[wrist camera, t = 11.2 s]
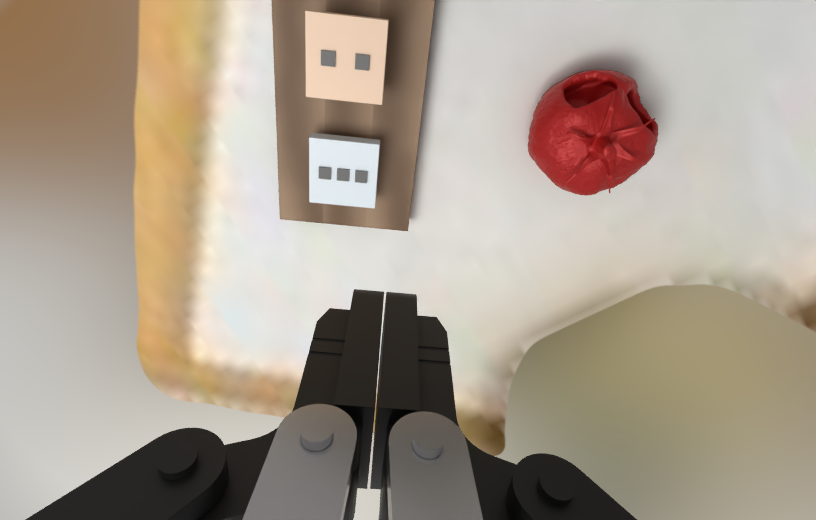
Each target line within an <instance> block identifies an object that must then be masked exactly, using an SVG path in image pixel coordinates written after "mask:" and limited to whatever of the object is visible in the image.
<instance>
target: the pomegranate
mask: <svg viewBox="0 0 816 520" xmlns="http://www.w3.org/2000/svg"><path fill="white" fill-rule="evenodd" d="M654 120H655V118H654V119H652V118H651V117H650V116H649V114H648V112H647V111H646V109H645V108H644V107H643V106H642V104H641V102H640V96H639V94H638V92H637V84H636V81H635V80H634V79H632V78H631V77H629V76H625V75H624V74H622V73H619V72H616V71H611V70H592V71H585V72H580V73H576V74H574V75H572V76H571V77H568V78H567V79H565V80H563V81H561V82H559V83H557V84H556V85H554V86H552V87H551V88H550V89H549V90H548V91H547V92H546V93H545V94H544V95H543V97H542V99H541V100H540V102H539V103H538V105H537V107H536V110H535V111H534V115H533V120H532V123H531V126H530V133H529V142H528V152H529V154H530V156H531V158H532V159H533V160H534V161H535V162H536V164H537V165H538V167H539V168H540V169H541V170H542V171H543V172H544V173H545V174H546V175H547V177H548V178H549V179H550V180H551V181H552V182H553V183H554V184H555V185H557V186H558V187H560V188H562V189H563V190H566V191H569V192H572V193H575V194H579V195H592V194H596V193H598V192H599V191H602V190H606V189H609V193H610V189H611V188H614V187H615V186H617V185H619V184H621V183H623V182H624V181H626V180H627V179H628V178H629V177H630V176H631V175H633V174H635V173H636V172H637V171H638V170H639V169H640V168H641V167H643V166H644V165H646V164H647V162H648V161H649V160H650V159H651V158H652V157H653V155H654V151H655V146H656V142H657V136H658V125H657V123H656V122H655V121H654Z"/></svg>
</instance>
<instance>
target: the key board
mask: <svg viewBox="0 0 816 520" xmlns="http://www.w3.org/2000/svg"><path fill="white" fill-rule="evenodd" d="M434 4H435V0H272V21H273V48H274V74H275V101H276V127H277V153H278V180H279V206H280V219H284V220H294V221H305V222H316V223H326V224H337V225H348V226H358V227H369V228H380V229H390V230H401V231H408V225H409V216H410V208H411V199H412V191H413V182H414V174H415V165H416V157H417V148H418V140H419V131H420V123H421V114H422V106H423V97H424V89H425V80H426V72H427V63H428V55H429V46H430V38H431V29H432V21H433V12H434ZM307 10H314V11H323V12H331V13H340V14H348V15H357V16H365V17H374V18H382V19H389V25H388V38H387V52H386V65H385V78H384V91H383V102H382V105H377V104H368V103H359V102H349V101H340V100H331V99H322V98H312V97H306V44H305V11H307ZM312 133H320V134H330V135H339V136H349V137H359V138H368V139H378V140H380V151H379V164H378V177H377V191H376V203H375V208H364V207H354V206H343V205H333V204H322V203H312V202H309V137H310V135H311V134H312Z"/></svg>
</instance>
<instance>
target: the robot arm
mask: <svg viewBox="0 0 816 520" xmlns="http://www.w3.org/2000/svg"><path fill="white" fill-rule="evenodd" d="M383 298H384V292H379V291H368V290H356V289H354V292H353V298H352V303H351V309H350V310H343V309H331V308H330V309H329V310H328V311H327V312H326V313H325V314H324V315H323V316H322V317H321V318H320V319H319V320H318V321H317V324H316V328H315V331H314V335H313V340H312V342H311V346H310V350H309V354H308V357H307V361H306V365H305V368H304V372H303V376H302V380H301V383H300V387H299V391H298V395H297V398H296V402H295V406H294V408H293V411H292V412H291V413H290V414H289V415H288V416H286V417H285V418H284V419H283V421H282V422H281V423H280V425H279V427H278V428H277V429H275V430H274V431H272V432H270V433H268V434H266V435H264V436H261V437H258V438H255V439H251V440H247V441H242V442H237V443H232V444H227V445H224V444H223V442H222V441H221V439H220V438H219V437H218V436H217V435H215V434H214V433H212V432H210V431H208V430H205V429H200V428H184V429H179V430H175V431H171V432H169V433H166V434H164V435H162V436H160V437H158V438H156V439H155V440H153V441H152V442H150V443H148V444H147V445H145V446H144V447H142V448H140V449H139V450H137V451H135V452H134V453H132V454H131V455H129V456H127V457H126V458H124V459H123V460H121V461H119V462H118V463H116V464H114V465H113V466H111V467H110V468H108V469H106V470H105V471H103V472H102V473H100V474H98V475H97V476H95V477H94V478H92V479H90V480H89V481H87V482H85V483H84V484H82V485H81V486H79V487H78V488H76V489H74V490H73V491H71V492H69V493H68V494H66V495H64V496H63V497H62V498H60V499H58V500H56V501H55V502H53V503H52V504H50V505H48V506H47V507H45V508H44V509H42V510H40V511H39V512H37V513H35V514H34V515H32V516H31V517H29V518H27V519H26V520H353V518H354V513H355V505H356V495H357V488H365V489H366V488H367V482H368V473H369V463H370V453H371V442H372V433H373V423H374V413H375V401H376V388H377V375H378V363H379V350H380V337H381V324H382V311H383ZM448 350H449V347H448V338H447V332H446V330H445V329H444V327H443V326H442V324H441V323H440V321H439V320H438V319H437V317H428V316H417V296H416V295H415V294H404V293H392V292H387V293H386V303H385V313H384V323H383V333H382V343H381V354H380V366H379V379H378V393H377V406H376V420H375V433H374V447H373V461H372V473H371V487H370V488H371V489H381V494H380V496H381V497H380V512H379V520H637V519H635V518H634V517H633V516H632V515H631V514H630V513H629V512H627V511H626V510H625V509H624V508H623V507H622V506H620V505H619V504H618V503H617V502H616V501H615V500H614V499H613V498H611V497H610V496H609V495H608V494H607V493H606V492H604V490H602V489H601V488H600V487H599V486H598V485H597V484H596V483H594V482H593V481H592V480H591V479H590V478H589V477H587V476H586V475H585V474H584V473H583V472H582V471H581V470H579V469H578V468H577V467H576V466H575V465H573V464H572V463H570V462H568V461H566V460H565V459H563V458H560V457H558V456H555V455H550V454H533V455H530V456H527V457H526V458H524V459H522V460H521V461H520V462H519V463H518V464H517V465H515V464H513V463H511V462H508V461H505V460H502V459H500V458H497V457H494V456H492V455H489V454H487V453H485V452H483V451H482V450H480V449H478V448H477V447H476V446H474V445H473V444H472V443H471V442H470V441H469V440H468V439H467V438H466V437H465V436H464V434H463V433H462V431H461V429H460V428H459V425H458V422H457V418H456V410H455V401H454V392H453V383H452V374H451V365H450V356H449V352H448Z"/></svg>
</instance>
